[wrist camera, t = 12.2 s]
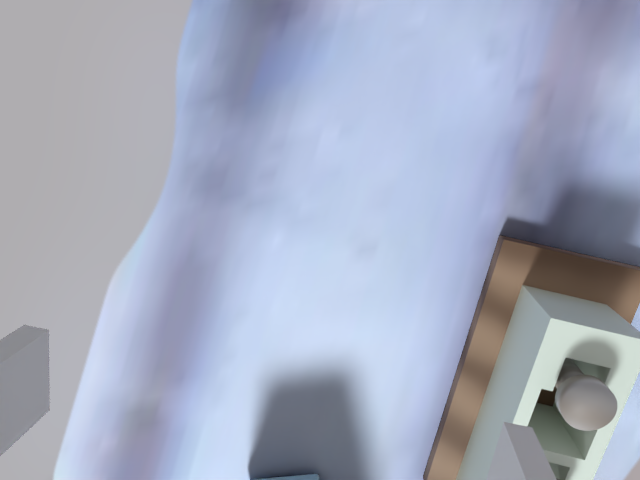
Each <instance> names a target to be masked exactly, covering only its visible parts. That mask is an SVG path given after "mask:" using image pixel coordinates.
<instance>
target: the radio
mask: <svg viewBox="0 0 640 480" xmlns="http://www.w3.org/2000/svg"><path fill="white" fill-rule="evenodd" d="M255 480H320V479H319V476H318V474H307V475H297V476H286V477H276V478H265V479H255Z"/></svg>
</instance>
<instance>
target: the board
mask: <svg viewBox="0 0 640 480" xmlns="http://www.w3.org/2000/svg"><path fill="white" fill-rule="evenodd" d="M522 285H525V286H529V287H534V288H538V289H542V290H547V291H551V292H555V293H559V294H564V295H568V296H572V297H576V298H581V299H585V300H589V301H593V302H598V303H602V304H606V305H608V306H609V307H610V308H611V309H613V310H614V311H615V312H616V313H617V314H619V315H620V316H621V317H622V318H624V319H625V320H626V321H627V322H628V323H630V324H631V322H632V320H633V317H634V315H635V313H636V310H637V308H638V305H639V303H640V267H637V266H633V265H629V264H624V263H620V262H615V261H611V260H606V259H602V258H598V257H593V256H589V255H584V254H580V253H576V252H571V251H567V250H562V249H558V248H554V247H549V246H545V245H540V244H536V243H532V242H527V241H523V240H518V239H514V238H510V237H505V236H501V235H499V238H498V241H497V245H496V248H495V251H494V254H493V257H492V260H491V263H490V267H489V270H488V273H487V276H486V279H485V282H484V286H483V289H482V292H481V295H480V298H479V301H478V305H477V308H476V311H475V314H474V317H473V320H472V324H471V327H470V330H469V333H468V336H467V339H466V342H465V346H464V349H463V352H462V355H461V358H460V361H459V365H458V368H457V371H456V374H455V377H454V380H453V384H452V387H451V390H450V393H449V396H448V399H447V403H446V406H445V409H444V412H443V415H442V418H441V421H440V425H439V428H438V431H437V434H436V437H435V440H434V444H433V447H432V450H431V453H430V456H429V459H428V463H427V466H426V469H425V472H424V475H423V479H424V480H456V478H457V475H458V472H459V469H460V466H461V463H462V460H463V457H464V454H465V451H466V448H467V445H468V442H469V439H470V437H471V434H472V431H473V428H474V425H475V422H476V419H477V416H478V413H479V410H480V407H481V404H482V401H483V398H484V396H485V393H486V390H487V387H488V384H489V381H490V378H491V375H492V372H493V369H494V366H495V363H496V360H497V358H498V355H499V352H500V349H501V346H502V343H503V340H504V337H505V334H506V331H507V328H508V325H509V322H510V319H511V317H512V314H513V311H514V308H515V305H516V302H517V299H518V296H519V293H520V290H521V287H522ZM554 402H555V403H556V406H557V408H558V410H559V412H560V413H561V415H562V416H563V418H564V420H565V421H566V422H567V423H568V424H569V425H570V426H572V427H573V428H576V429H579V430H583V431H592V430H597V429H600V428H602V427H604V426H606V425H607V424H609V423H610V422H611V421H612V420H613V418H614V417H615V415H616V412H617V400H616V397H615V395H614V394H613V393H612V392H611V390H610V389H609V388H608V387H607V386H606V384H605V383H604V382H603V381H602V380H600V379H599V378H597V377H595V376H592V375H585V374H583V373H582V371H581V370H580V369H579V368H578V366H577V365H576V364H575V363H574V361H573V360H572V359H570V358H565V360H564V363H563V366H562V368H561V371H560V373H559V376H558V379H557V381H556V384H555V387H554V389H553V391H549V390H545V389H541V392H540V394H539V397H538V400H537V402H536V403H540V404H544V405H548V406H552V407H553V404H554ZM556 479H557V478H556ZM557 480H559V479H557Z"/></svg>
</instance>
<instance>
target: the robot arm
mask: <svg viewBox="0 0 640 480" xmlns="http://www.w3.org/2000/svg"><path fill="white" fill-rule="evenodd" d="M49 407H50V402H49V330H47V329H42V328H36V327H32V326H27V325H23V326H22V327H20V328H18V329H17V330H15V331H14V332H12V333H11V334H9V335H7V336H6V337H4V338H3V339H1V340H0V456H1V455H2V454H3V453H4V452H5V451H6V450H7V449H9V448H10V447H11V446H12V445H13V444H14V443H15V442H16V441H17V440H18V439H19V438H20V437H21V436H22V435H24V434H25V433H26V432H27V431H28V430H29V429H30V428H31V427H32V426H33V425H34V424H35V423H36V422H38V421H39V420H40V419H41V417H43V416H44V415H45V414H46V413H47V412H48V411H49V410H50V408H49ZM486 480H557V479H556V477H555V475H554V473H553V471H552V469H551V467H550V464H549V462H548V460H547V458H546V456H545V454H544V451H543V449H542V447H541V445H540V443H539V441H538V438H537V436H536V434H535V432H534V430H533V428H532V427H527V426H522V425H517V424H513V423H508V422H504V423H503V426H502V430H501V433H500V436H499V439H498V443H497V446H496V449H495V453H494V456H493V459H492V462H491V466H490V469H489V472H488V475H487V479H486Z"/></svg>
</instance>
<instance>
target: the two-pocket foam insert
mask: <svg viewBox="0 0 640 480" xmlns="http://www.w3.org/2000/svg"><path fill="white" fill-rule="evenodd" d="M565 358H570V359H572V360H573V361H574V363H575V364H576V365H577V366H578V368H579V369H580V370H581V371H582V373H583V374H585V375H592V376H595V377H597V378H599V379H600V380H602V381H603V382H604V383H605V384H606V386H607V387H608V388H609V389H610V390H611V392H612V393H613V394H614V395H615V397H616V400H617V412H616V415H615V417H614V418H613V420H612V421H611V422H610V423H609V424H607V425H606V426H604V427H602V428H600V429H597V430H592V431H583V430H579V429H576V428H573V427H572V426H570V425H569V424H568V423H567V422H566V421H565V420H564V418H563V416H562V415H561V413H560V412H559V410H558V408H557V406H556V403H555V402H554V404H553V407H552V406H548V405H544V404H540V403H536V402H537V400H538V397H539V394H540V392H541V389H545V390H549V391H553V389H554V387H555V384H556V381H557V379H558V376H559V373H560V371H561V368H562V366H563V363H564V360H565ZM639 372H640V332H639V331H638V330H637V329H636V328H635V327H633V326H632V325H631V324H630V323H628V322H627V321H626V320H625V319H624V318H622V317H621V316H620V315H619V314H617V313H616V312H615V311H614V310H613V309H611V308H610V307H609V306H608V305H606V304H602V303H598V302H593V301H589V300H585V299H581V298H576V297H572V296H568V295H564V294H559V293H555V292H551V291H547V290H542V289H538V288H534V287H529V286H525V285H522V287H521V290H520V293H519V296H518V299H517V302H516V305H515V308H514V311H513V314H512V317H511V319H510V322H509V325H508V328H507V331H506V334H505V337H504V340H503V343H502V346H501V349H500V352H499V355H498V358H497V360H496V363H495V366H494V369H493V372H492V375H491V378H490V381H489V384H488V387H487V390H486V393H485V396H484V398H483V401H482V404H481V407H480V410H479V413H478V416H477V419H476V422H475V425H474V428H473V431H472V434H471V437H470V439H469V442H468V445H467V448H466V451H465V454H464V457H463V460H462V463H461V466H460V469H459V472H458V475H457V478H456V480H486V479H487V475H488V472H489V469H490V466H491V462H492V459H493V456H494V453H495V449H496V446H497V443H498V439H499V436H500V433H501V430H502V426H503V423H504V422H508V423H513V424H517V425H522V426H527V427H532V428H533V430H534V432H535V434H536V436H537V438H538V441H539V443H540V445H541V447H542V449H543V451H544V454H545V456H546V458H547V460H548V462H549V464H550V467H551V469H552V471H553V473H554V475H555V477H556V478H557V479H559V480H593V478H594V476H595V474H596V471H597V469H598V467H599V464H600V462H601V460H602V457H603V455H604V453H605V450H606V448H607V446H608V444H609V441H610V439H611V437H612V434H613V432H614V430H615V427H616V425H617V423H618V420H619V418H620V416H621V413H622V411H623V409H624V406H625V404H626V402H627V399H628V397H629V395H630V392H631V390H632V388H633V385H634V383H635V381H636V379H637V376H638V374H639Z"/></svg>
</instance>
